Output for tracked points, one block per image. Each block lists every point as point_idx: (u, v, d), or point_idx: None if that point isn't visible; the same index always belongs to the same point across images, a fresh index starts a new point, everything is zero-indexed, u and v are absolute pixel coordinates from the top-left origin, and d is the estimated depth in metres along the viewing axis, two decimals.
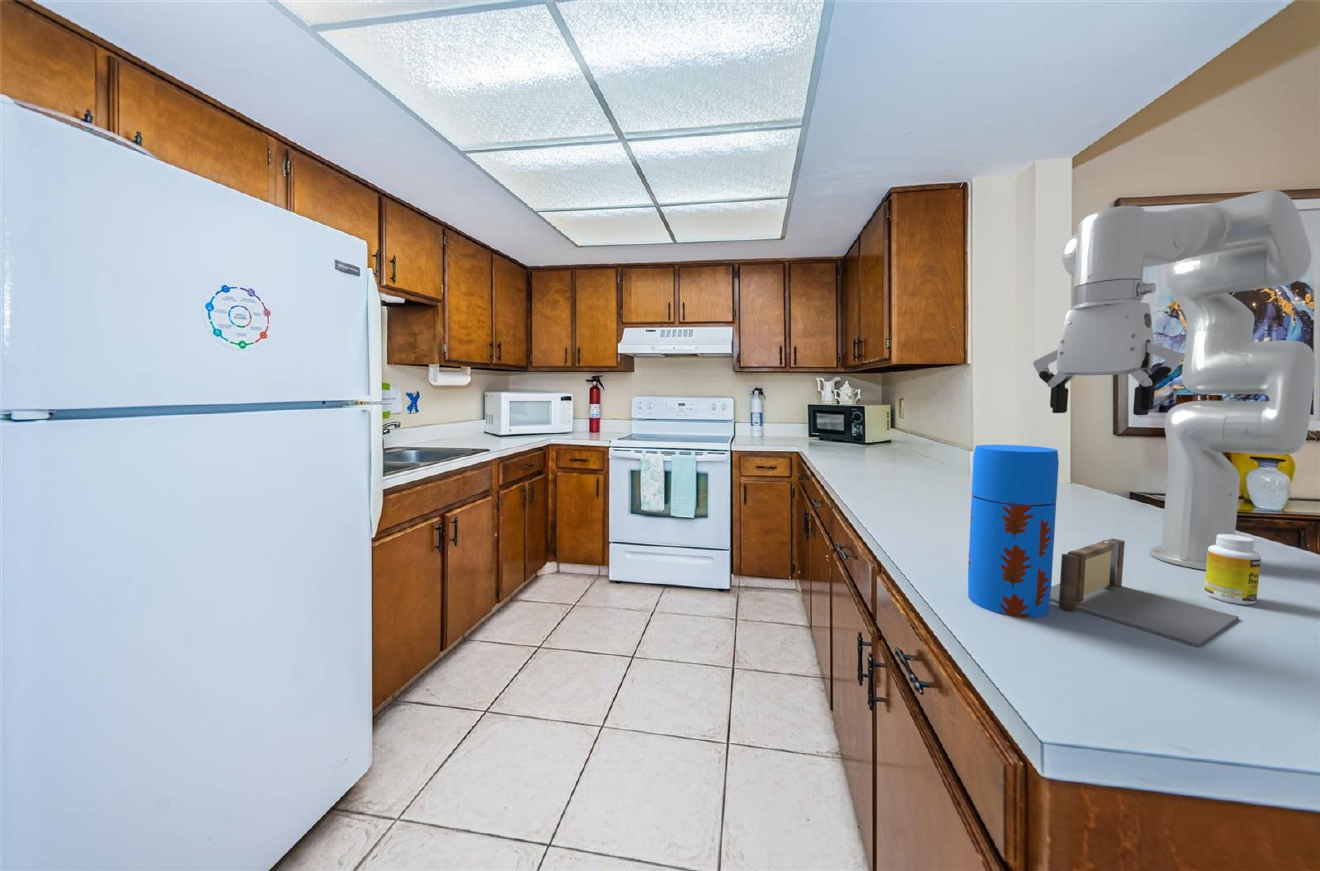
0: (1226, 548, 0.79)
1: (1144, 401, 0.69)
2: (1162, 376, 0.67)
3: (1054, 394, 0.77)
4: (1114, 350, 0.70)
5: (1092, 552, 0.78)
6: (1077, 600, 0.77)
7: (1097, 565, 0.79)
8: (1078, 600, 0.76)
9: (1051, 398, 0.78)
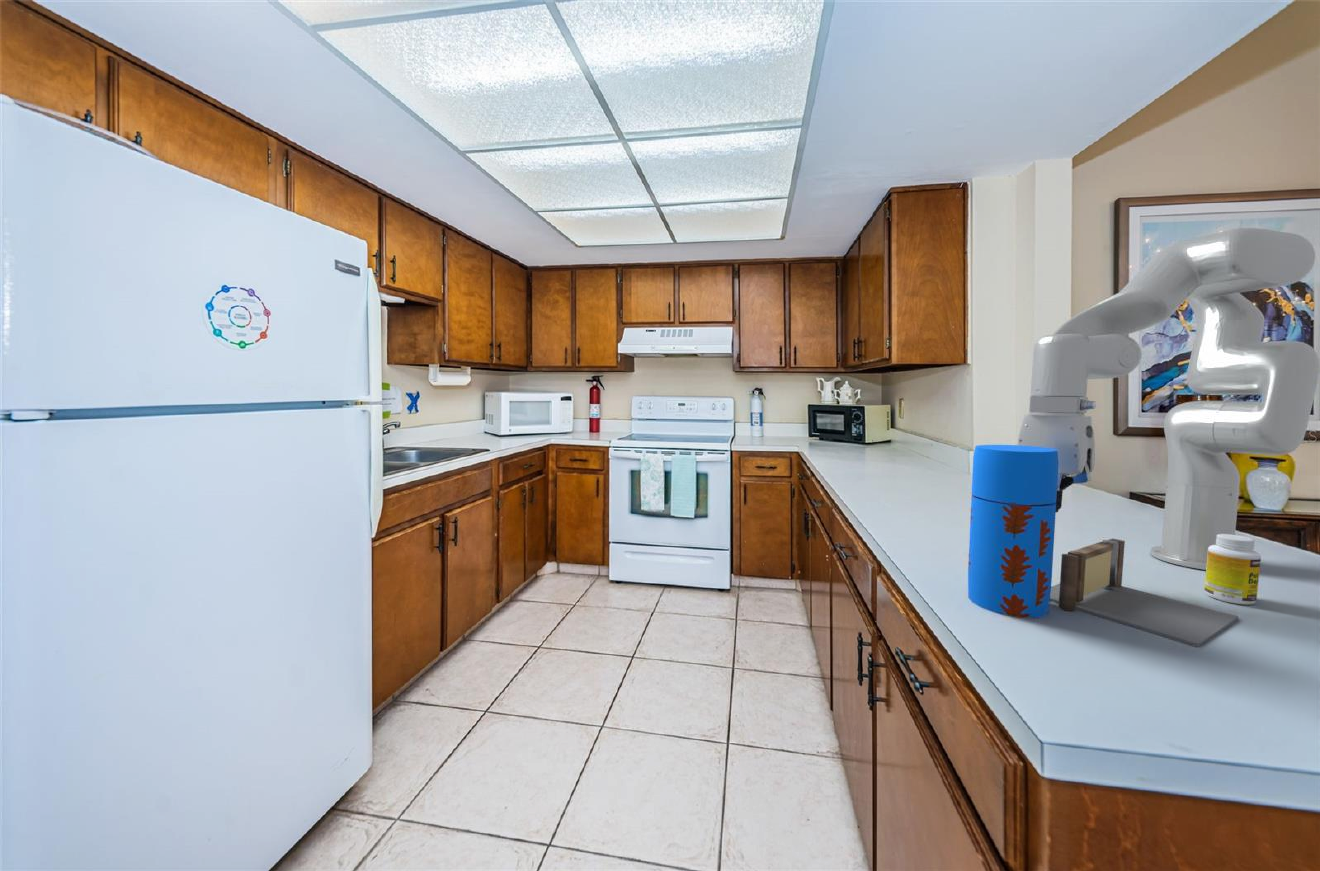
0: (1226, 548, 0.79)
1: None
2: (1066, 484, 0.83)
3: None
4: (1061, 455, 0.82)
5: (1092, 552, 0.78)
6: (1077, 600, 0.77)
7: (1097, 565, 0.79)
8: (1078, 600, 0.76)
9: None
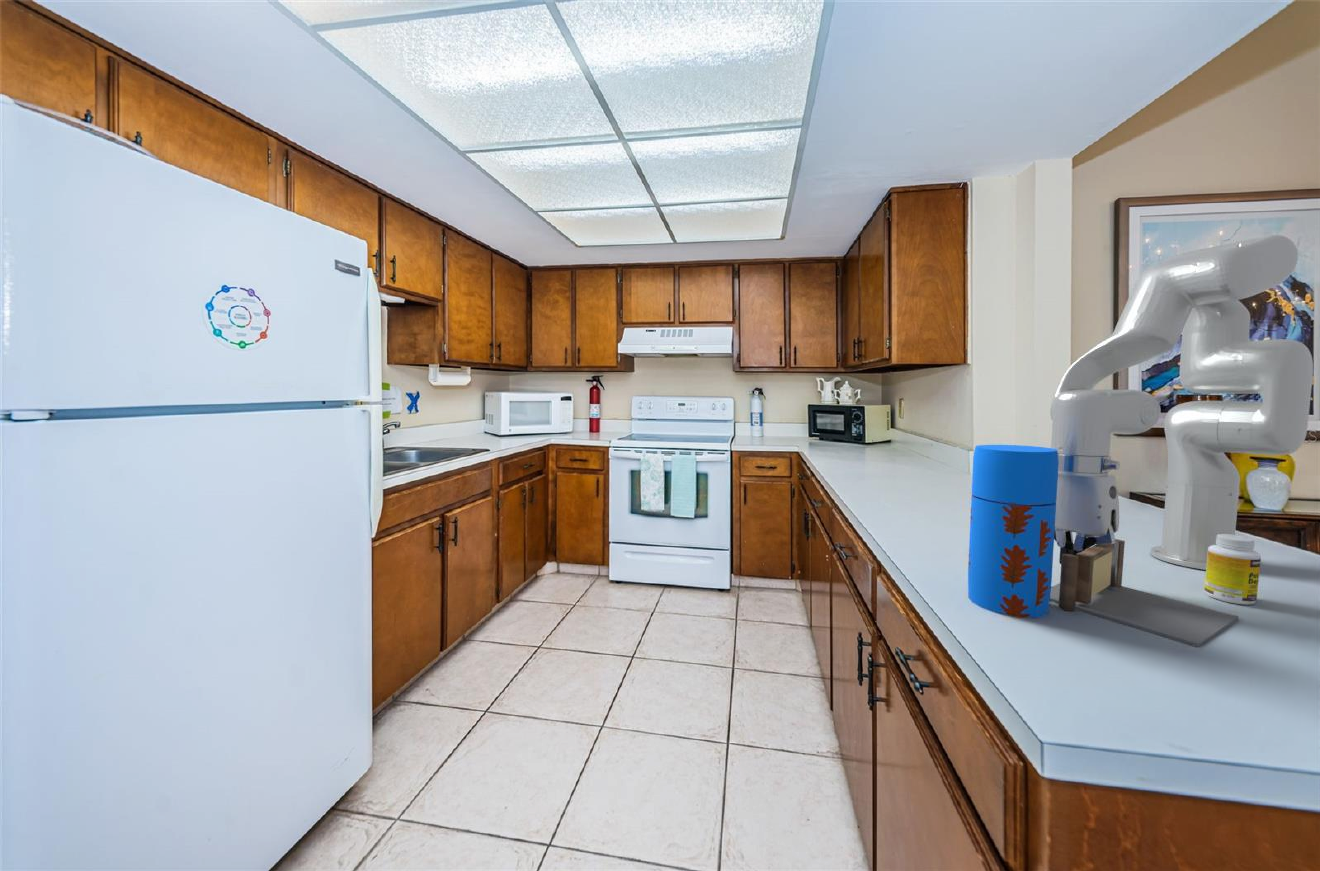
0: (1226, 548, 0.79)
1: None
2: (1089, 545, 0.81)
3: None
4: (1084, 515, 0.80)
5: (1098, 553, 0.77)
6: (1086, 602, 0.76)
7: (1101, 566, 0.79)
8: (1087, 602, 0.76)
9: (1060, 556, 0.85)
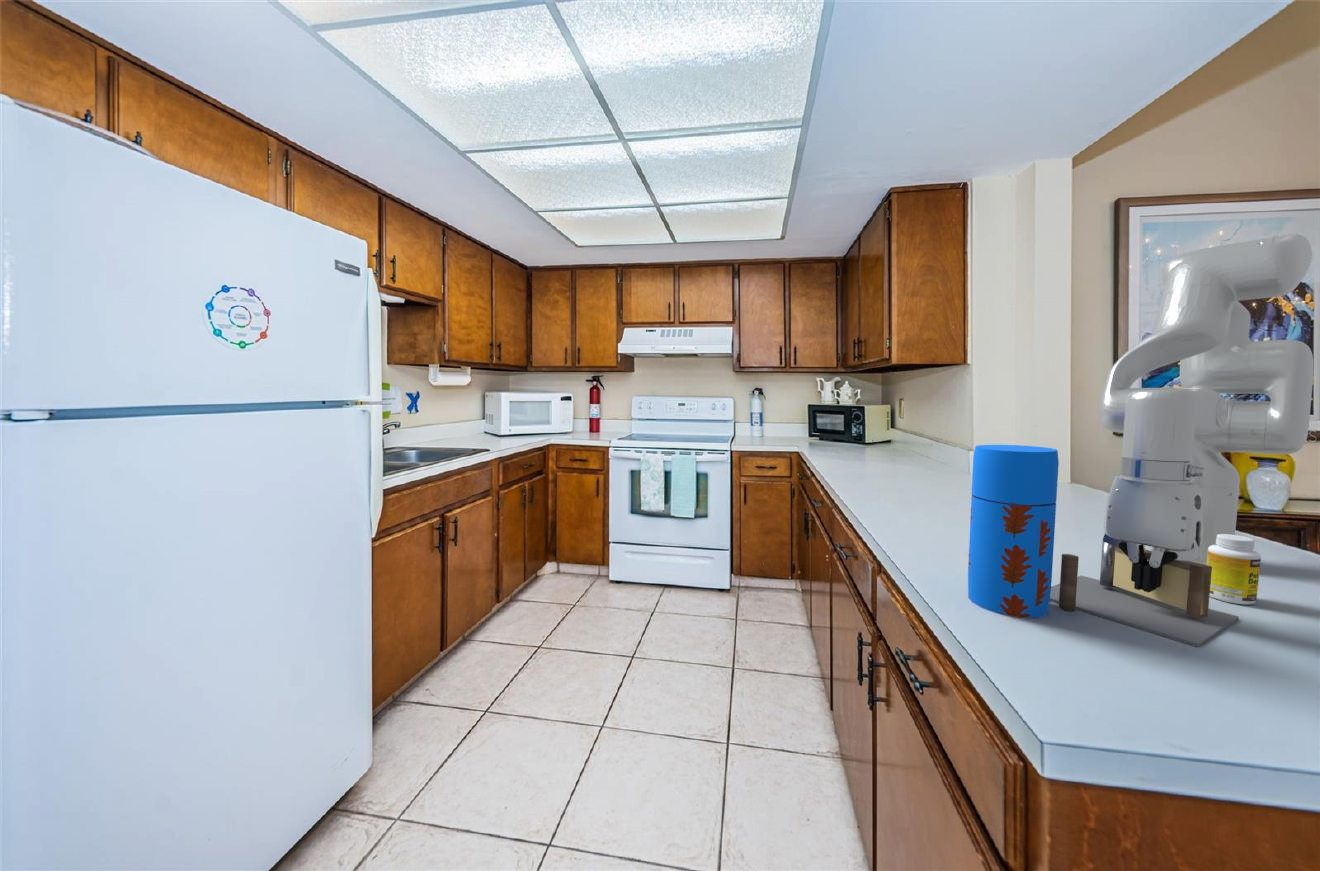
0: (1226, 548, 0.79)
1: (1152, 579, 0.74)
2: (1169, 560, 0.73)
3: (1136, 571, 0.75)
4: (1164, 528, 0.72)
5: None
6: (1206, 615, 0.71)
7: None
8: (1207, 615, 0.71)
9: (1132, 572, 0.76)
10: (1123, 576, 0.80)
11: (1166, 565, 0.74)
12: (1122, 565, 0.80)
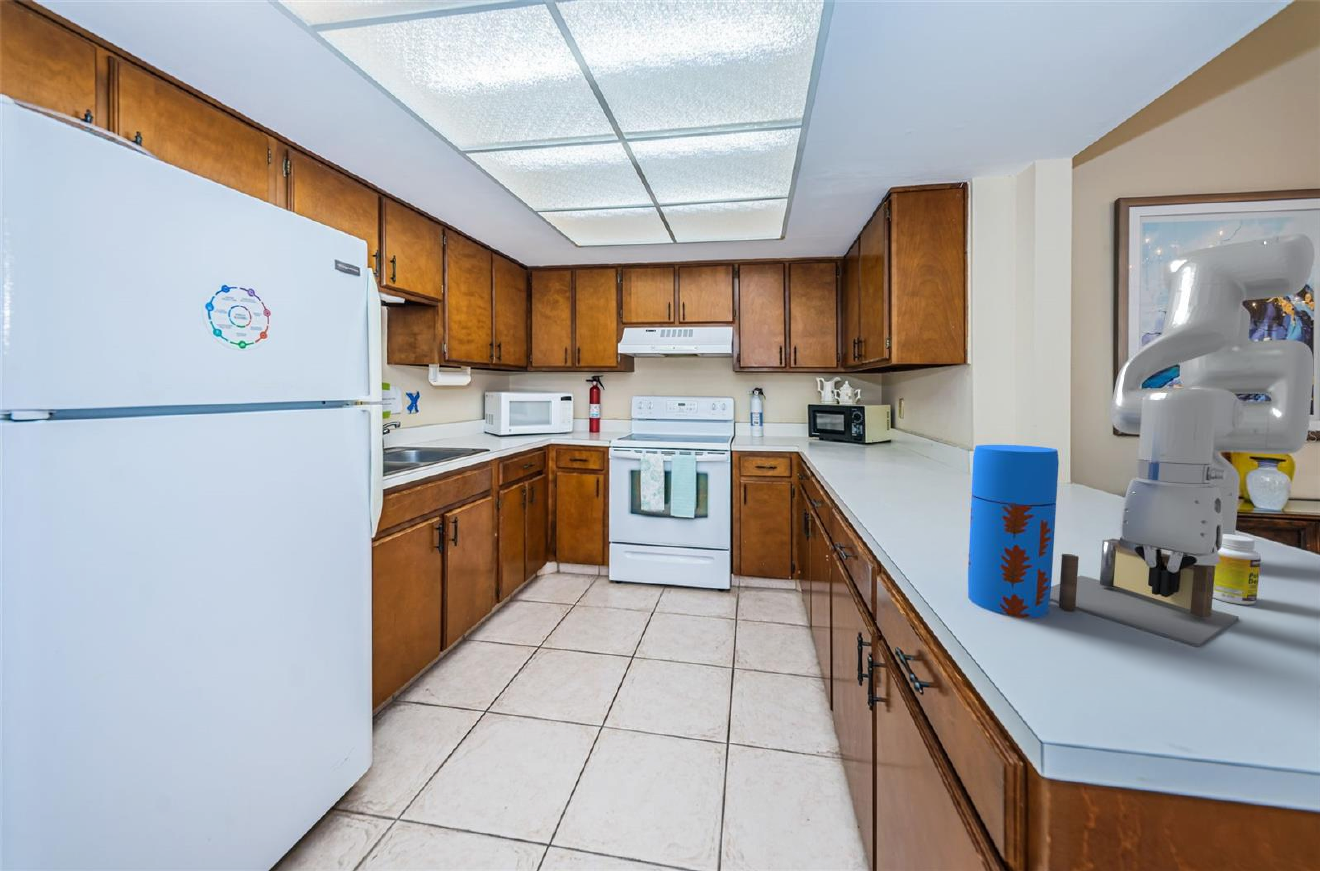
0: (1226, 548, 0.79)
1: (1170, 584, 0.73)
2: (1188, 565, 0.71)
3: (1154, 575, 0.73)
4: (1183, 531, 0.70)
5: None
6: (1210, 614, 0.71)
7: None
8: (1210, 614, 0.71)
9: (1149, 577, 0.75)
10: (1124, 576, 0.80)
11: None
12: (1122, 565, 0.80)
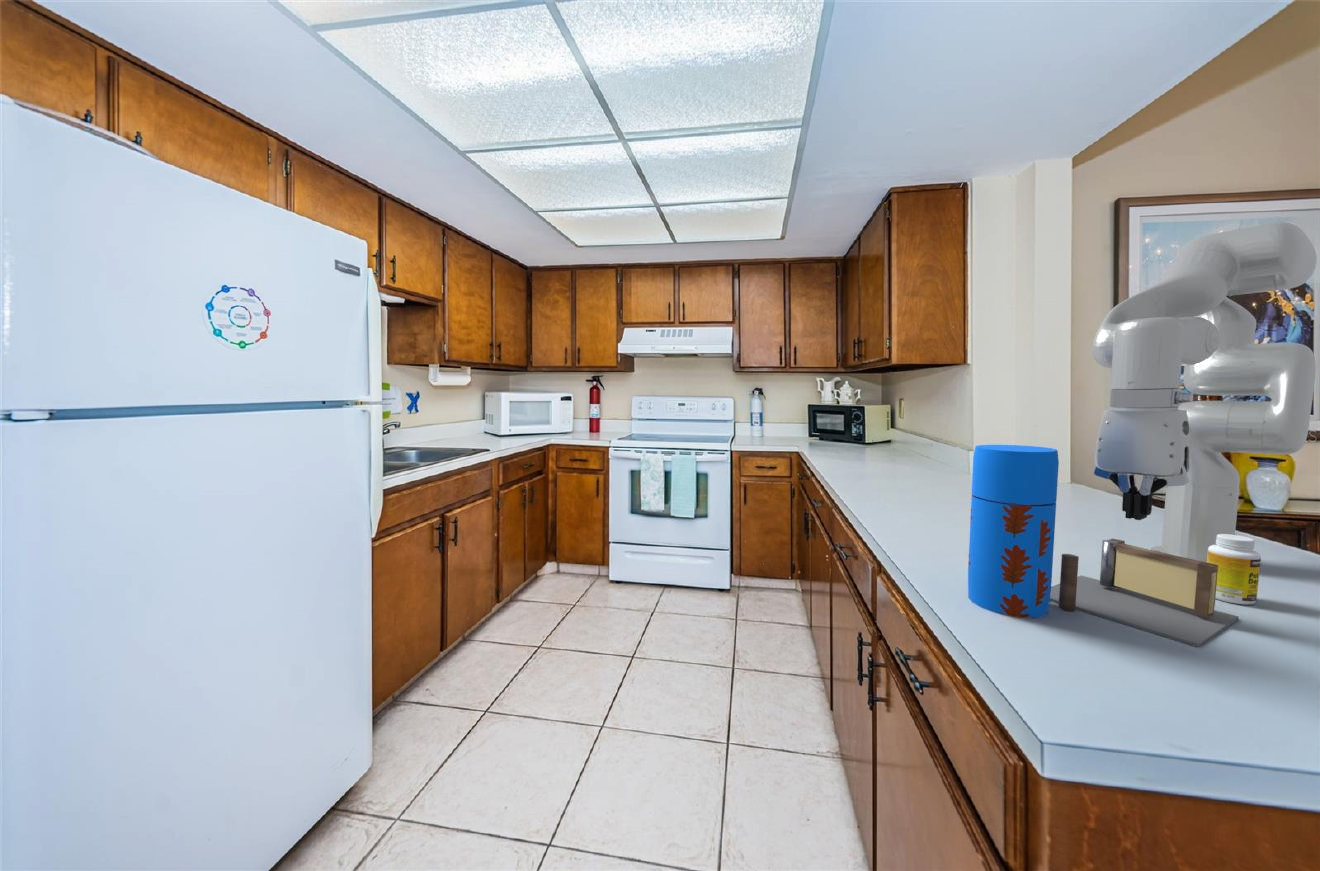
0: (1226, 548, 0.79)
1: (1143, 507, 0.76)
2: (1159, 487, 0.74)
3: (1127, 500, 0.77)
4: (1153, 455, 0.73)
5: None
6: (1213, 613, 0.72)
7: None
8: (1213, 613, 0.72)
9: (1123, 502, 0.78)
10: (1125, 576, 0.80)
11: (1171, 564, 0.75)
12: (1123, 565, 0.80)
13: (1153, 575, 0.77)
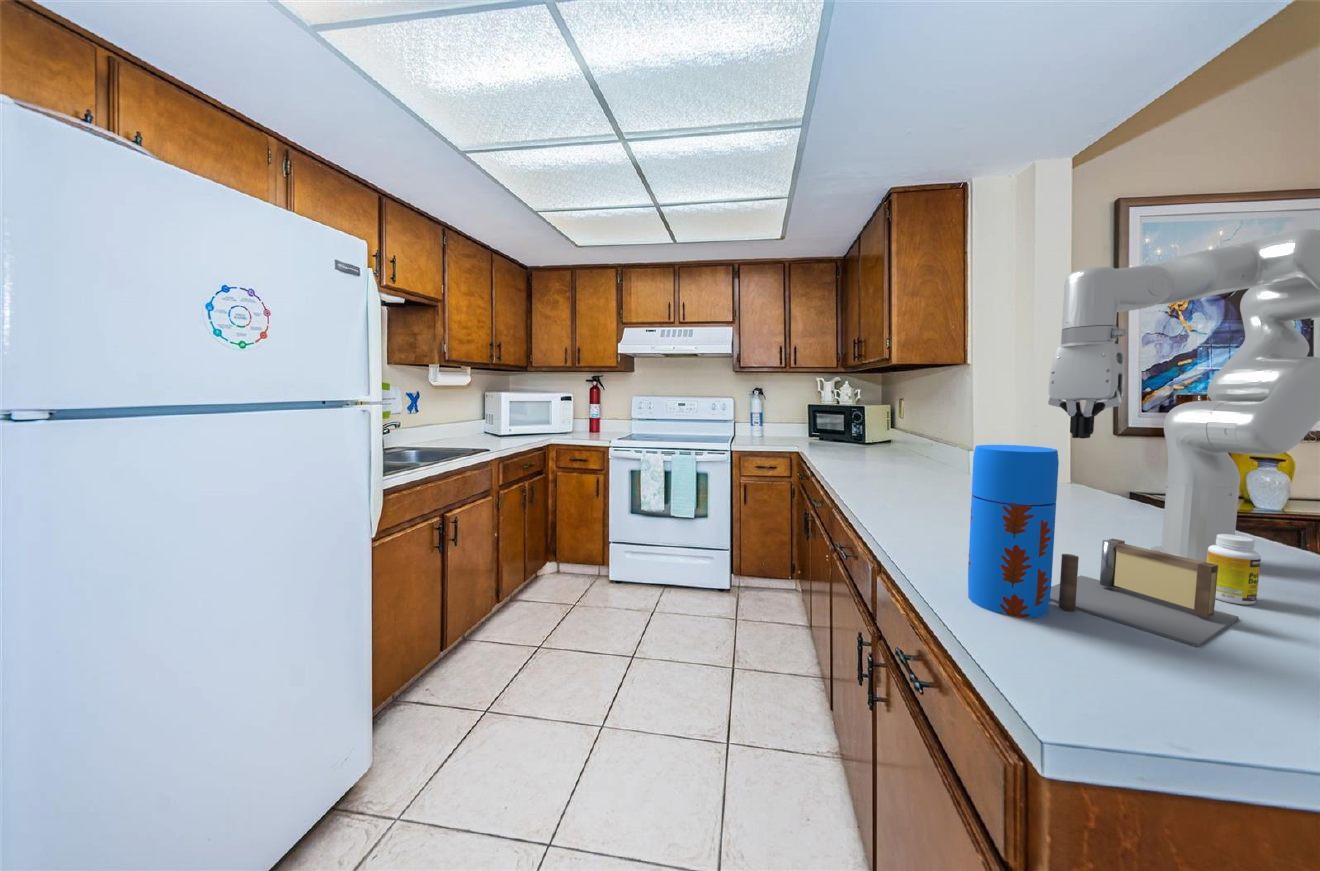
0: (1226, 548, 0.79)
1: (1086, 428, 0.90)
2: (1098, 409, 0.89)
3: (1073, 422, 0.91)
4: (1093, 381, 0.88)
5: None
6: (1213, 613, 0.72)
7: None
8: (1213, 613, 0.72)
9: (1071, 425, 0.92)
10: (1125, 576, 0.80)
11: (1171, 564, 0.75)
12: (1123, 565, 0.80)
13: (1153, 575, 0.77)
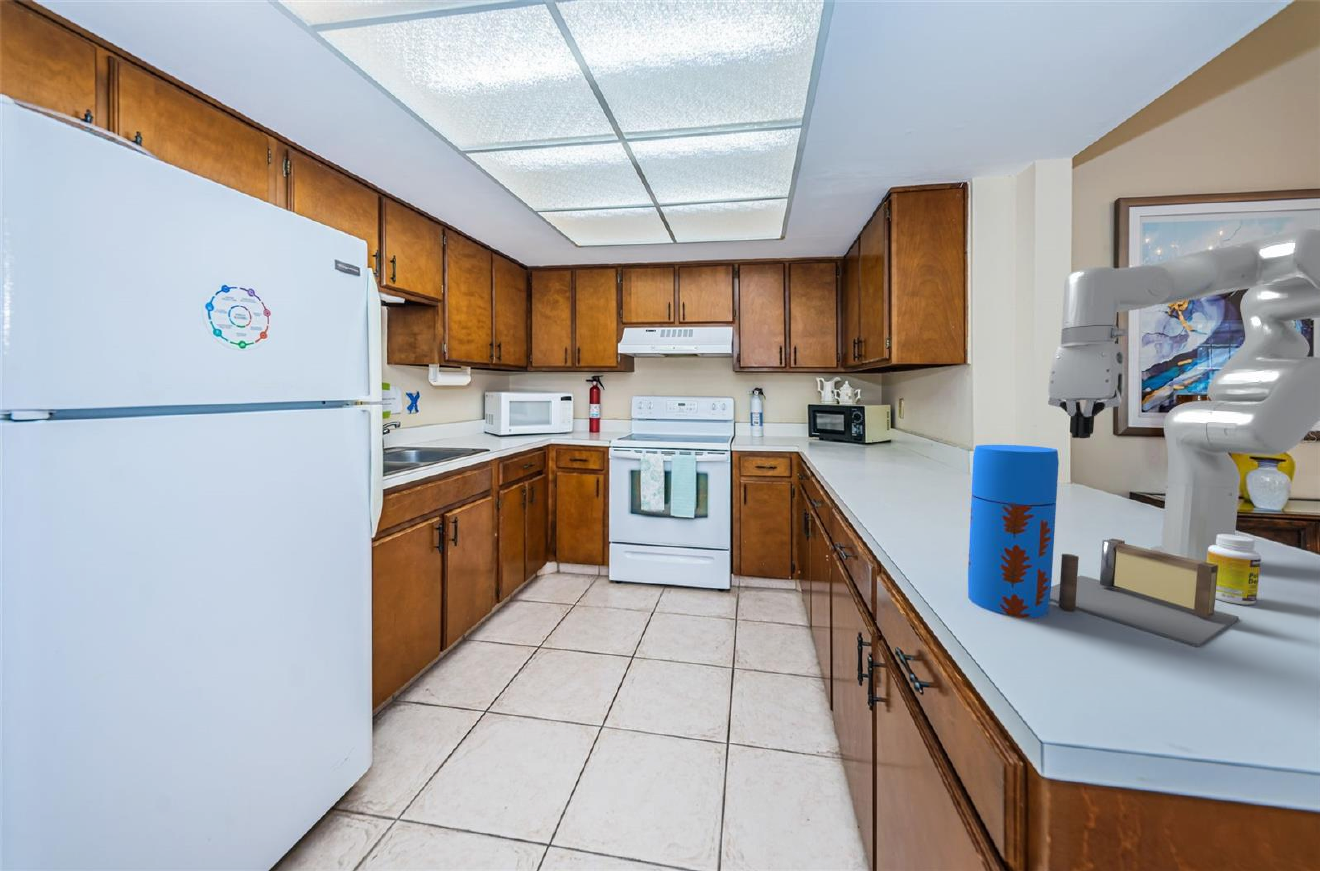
0: (1226, 548, 0.79)
1: (1086, 427, 0.90)
2: (1098, 409, 0.89)
3: (1073, 422, 0.91)
4: (1093, 381, 0.88)
5: None
6: (1213, 613, 0.72)
7: None
8: (1213, 613, 0.72)
9: (1071, 425, 0.93)
10: (1125, 576, 0.80)
11: (1171, 564, 0.75)
12: (1123, 565, 0.80)
13: (1153, 575, 0.77)
